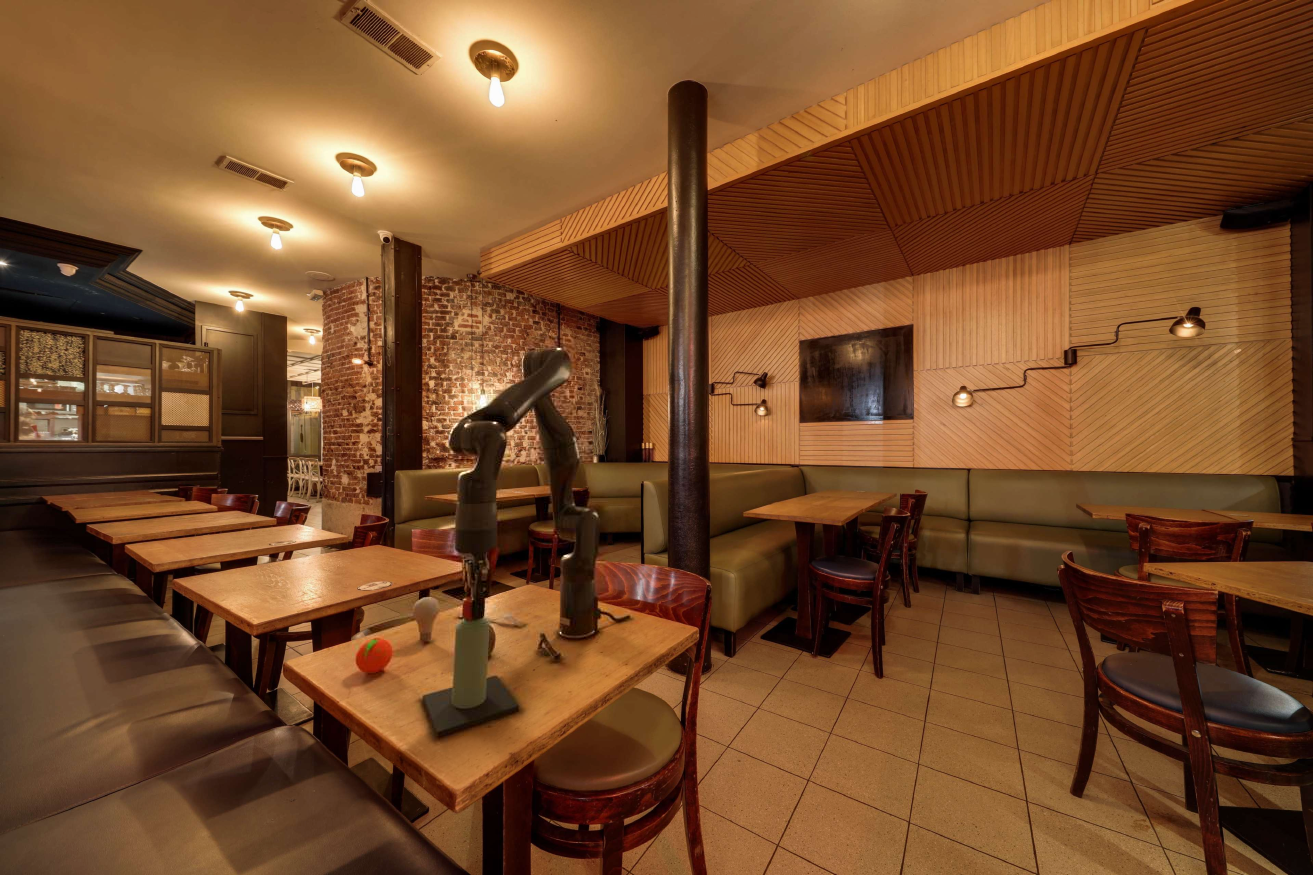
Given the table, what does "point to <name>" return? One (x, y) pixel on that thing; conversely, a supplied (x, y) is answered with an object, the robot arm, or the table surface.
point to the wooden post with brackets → (554, 654)
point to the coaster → (457, 719)
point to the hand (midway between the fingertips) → (474, 614)
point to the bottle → (470, 663)
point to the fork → (506, 616)
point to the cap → (467, 608)
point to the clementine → (374, 655)
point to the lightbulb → (426, 616)
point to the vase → (491, 640)
